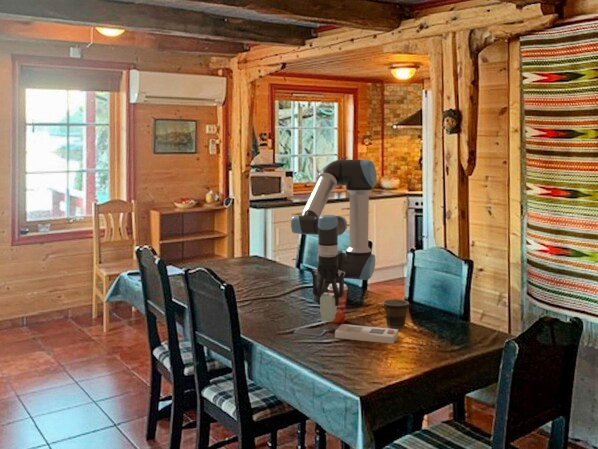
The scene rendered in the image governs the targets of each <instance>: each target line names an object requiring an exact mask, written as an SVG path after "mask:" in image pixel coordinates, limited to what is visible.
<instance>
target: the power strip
mask: <svg viewBox="0 0 598 449" xmlns="http://www.w3.org/2000/svg"><path fill="white" fill-rule="evenodd" d="M398 337H399V329H390V328H388V327H377V326H367V325H366V326H365V325H357V324H345V323H341V324H340V325H339V327H338V328H337V329H335V331H334V339H343V340H351V341H362V342H371V343H372V342H373V343H382V344H393V345H394V344H395V342H396V340H397V338H398Z"/></svg>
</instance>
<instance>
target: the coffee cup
mask: <svg viewBox="0 0 598 449" xmlns="http://www.w3.org/2000/svg"><path fill="white" fill-rule="evenodd" d="M337 288H338V292H339V283H337ZM348 289H349V288H348V286H347V284H345V283H344V295H343V296H342V297H339V305H338V306H337V313H336V314H335V319H334V320H333V321H330V322H331V323H336V324H340V323H341V324H343V323H345V321H346V310H347V308H346V307H347V293H348ZM328 291H329V293H334V292H333V288H332V284H329V287H328Z"/></svg>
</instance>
